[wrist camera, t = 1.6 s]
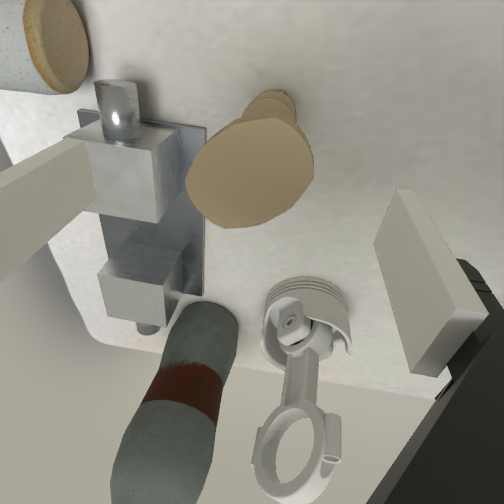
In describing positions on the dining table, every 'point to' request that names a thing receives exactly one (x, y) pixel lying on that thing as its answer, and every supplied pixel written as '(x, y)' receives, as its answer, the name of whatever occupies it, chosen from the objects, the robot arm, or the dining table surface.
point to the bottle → (178, 413)
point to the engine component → (301, 382)
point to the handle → (252, 165)
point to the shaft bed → (143, 206)
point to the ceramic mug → (42, 47)
